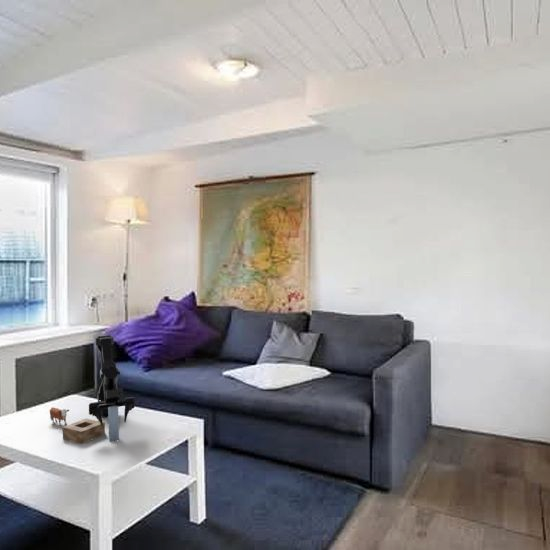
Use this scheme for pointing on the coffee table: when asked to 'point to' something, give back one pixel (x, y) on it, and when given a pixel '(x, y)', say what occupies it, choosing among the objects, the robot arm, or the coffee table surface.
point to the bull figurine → (58, 415)
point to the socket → (83, 430)
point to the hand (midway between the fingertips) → (113, 423)
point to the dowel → (113, 423)
